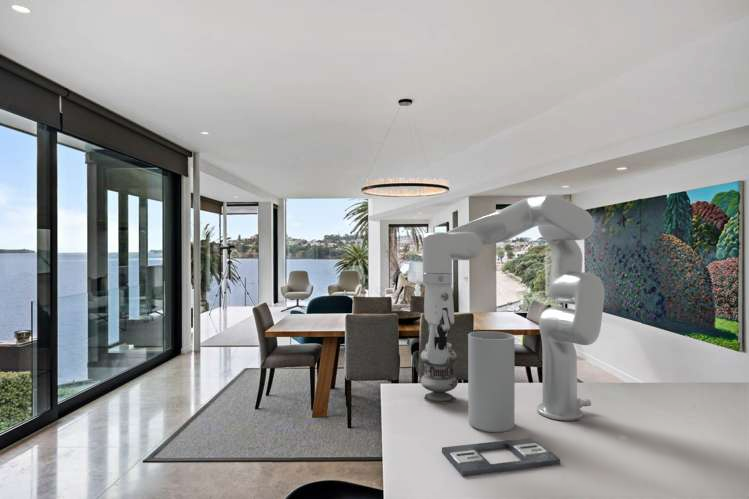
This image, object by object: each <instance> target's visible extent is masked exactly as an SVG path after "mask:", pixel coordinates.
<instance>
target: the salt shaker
mask: <svg viewBox="0 0 749 499" xmlns="http://www.w3.org/2000/svg"><path fill="white" fill-rule="evenodd" d="M429 320H430V319H429ZM439 324H443V323H442V322H440V323H439ZM440 328H442V327H439V329H440ZM428 334H429V333H428ZM434 337H436V335H435V324H432V323H431V328H430V334H429V335H428V342H427V343H428V346H427V352H426V355H427V357H428V360H429V362H430V363H432V364H444V363H446V361H447V358H448V355H449V352H448V346H447V351H446V347H445V349H444V350H440V349H439V348H438V343H437V345H436V349H435V346H434Z"/></svg>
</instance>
